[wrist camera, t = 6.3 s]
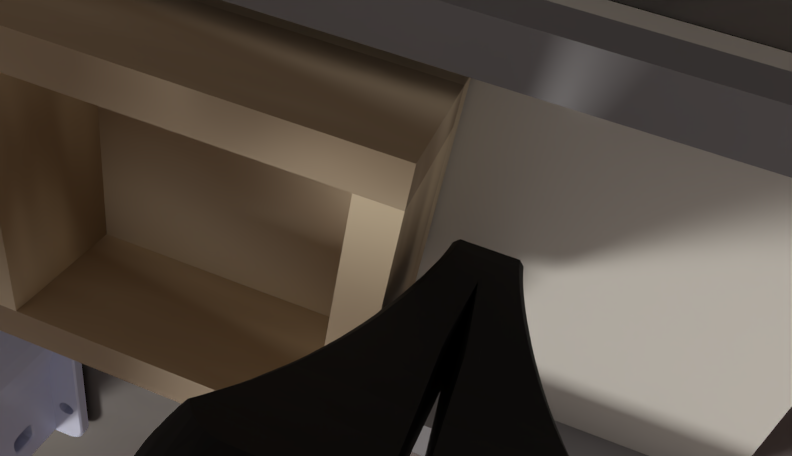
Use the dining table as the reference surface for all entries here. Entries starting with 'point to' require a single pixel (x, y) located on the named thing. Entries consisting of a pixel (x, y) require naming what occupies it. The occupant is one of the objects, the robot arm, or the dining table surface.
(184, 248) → the crate
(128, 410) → the dining table surface
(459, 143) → the crate bay
